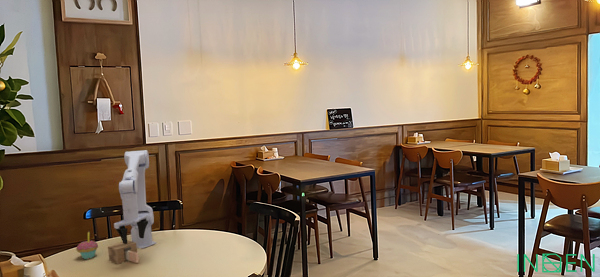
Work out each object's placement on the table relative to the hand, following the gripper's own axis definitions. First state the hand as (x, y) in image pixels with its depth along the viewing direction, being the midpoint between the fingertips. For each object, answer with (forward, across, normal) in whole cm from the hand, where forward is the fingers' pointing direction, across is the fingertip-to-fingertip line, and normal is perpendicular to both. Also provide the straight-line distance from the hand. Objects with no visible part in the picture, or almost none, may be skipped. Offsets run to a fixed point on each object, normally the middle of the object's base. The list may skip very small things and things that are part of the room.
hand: (133, 240), depth 184 cm
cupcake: (+10, -7, +25) cm, 28 cm away
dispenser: (+10, 0, +9) cm, 13 cm away
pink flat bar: (+9, 0, +5) cm, 10 cm away
